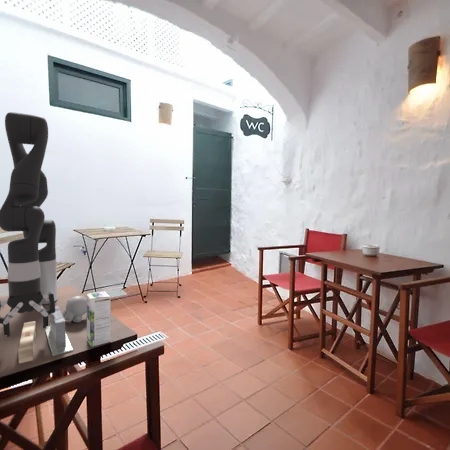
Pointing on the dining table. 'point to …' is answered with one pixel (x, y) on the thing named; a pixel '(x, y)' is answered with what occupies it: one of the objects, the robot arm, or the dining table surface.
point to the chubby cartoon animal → (75, 309)
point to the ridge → (57, 334)
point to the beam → (27, 342)
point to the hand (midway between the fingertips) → (26, 331)
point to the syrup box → (98, 318)
